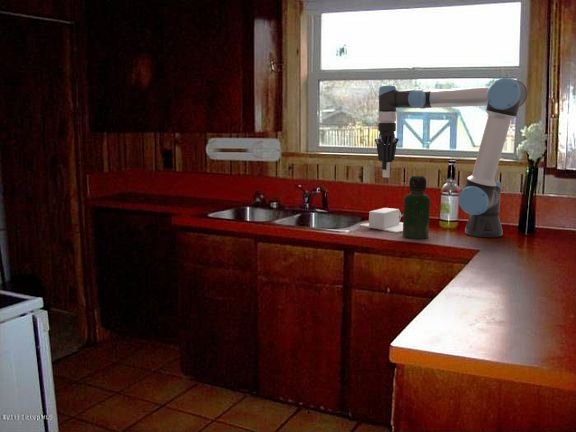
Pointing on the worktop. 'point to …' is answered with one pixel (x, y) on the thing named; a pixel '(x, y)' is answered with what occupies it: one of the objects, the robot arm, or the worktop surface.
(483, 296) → the worktop surface
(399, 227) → the mat
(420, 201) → the green bottle
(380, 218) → the milk carton
